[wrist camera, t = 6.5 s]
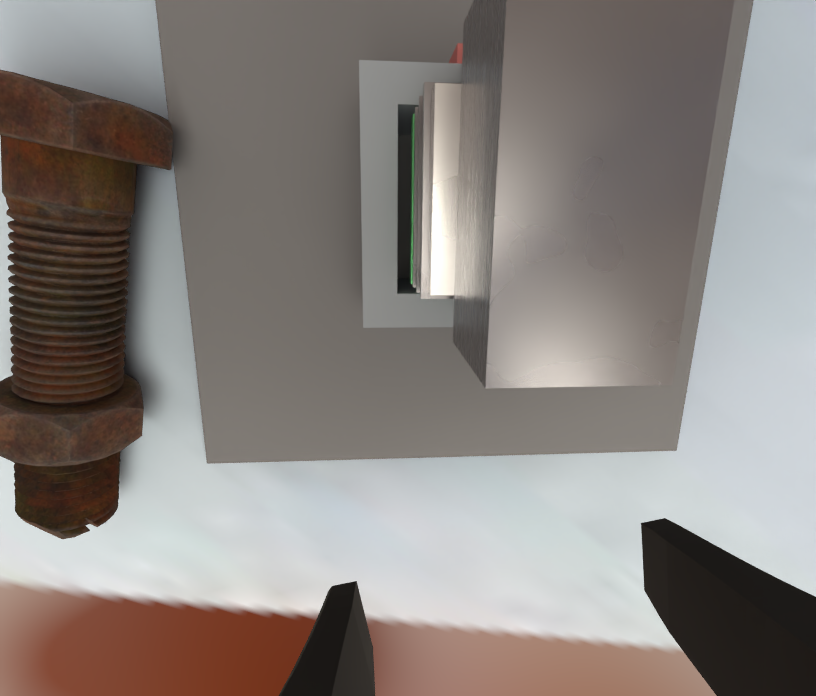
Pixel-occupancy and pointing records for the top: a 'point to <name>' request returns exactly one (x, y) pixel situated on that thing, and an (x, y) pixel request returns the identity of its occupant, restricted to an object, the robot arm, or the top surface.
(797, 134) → the top surface
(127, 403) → the bolt
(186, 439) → the top surface
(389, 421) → the jack base
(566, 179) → the tall silver metal block
